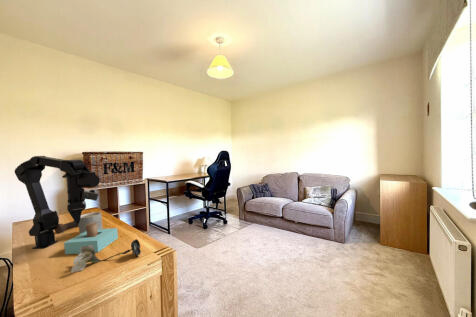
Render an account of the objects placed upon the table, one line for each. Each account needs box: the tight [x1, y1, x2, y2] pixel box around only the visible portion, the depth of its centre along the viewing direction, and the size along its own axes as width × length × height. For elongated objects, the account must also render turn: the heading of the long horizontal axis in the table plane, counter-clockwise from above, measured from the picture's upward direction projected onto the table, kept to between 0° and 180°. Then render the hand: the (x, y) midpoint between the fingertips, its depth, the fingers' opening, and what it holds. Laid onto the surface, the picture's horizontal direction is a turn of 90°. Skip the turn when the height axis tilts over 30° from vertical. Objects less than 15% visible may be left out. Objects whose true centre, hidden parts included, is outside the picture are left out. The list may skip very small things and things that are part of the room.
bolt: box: [54, 220, 79, 234], centre depth 119 cm, size 6×5×15 cm
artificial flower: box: [70, 238, 142, 273], centre depth 76 cm, size 9×22×10 cm, turn 105°
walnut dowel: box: [86, 222, 98, 237], centre depth 92 cm, size 4×4×10 cm
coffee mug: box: [78, 211, 103, 235], centre depth 109 cm, size 13×10×10 cm
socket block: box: [63, 227, 119, 255], centre depth 92 cm, size 14×14×5 cm
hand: (77, 220), depth 93 cm, fingers open, 9 cm apart
